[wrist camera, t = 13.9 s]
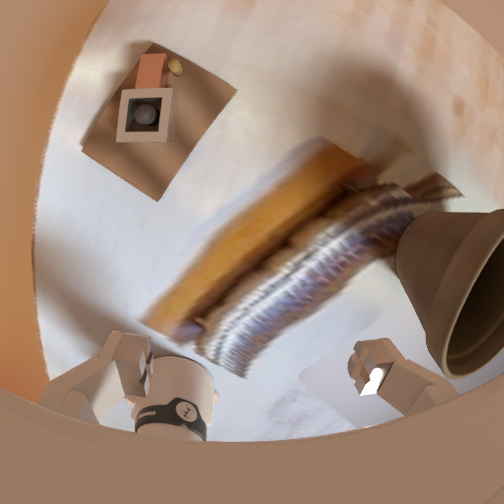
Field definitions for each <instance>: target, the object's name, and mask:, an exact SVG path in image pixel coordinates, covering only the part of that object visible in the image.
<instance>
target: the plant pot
mask: <svg viewBox="0 0 504 504" xmlns="http://www.w3.org/2000/svg"><path fill="white" fill-rule="evenodd" d="M395 265H396V271H397V274H398V277H399V279H400V282H401V284H402V286H403V288H404V290H405V292H406V294H407V295H408V297H409V299H410V301H411V303H412V305H413V307H414V309H415V312H416V314H417V316H418V318H419V320H420V322H421V324H422V326H423V328H424V330H425V333H426V344H427V348H428V351H429V353H430V354H431V356H432V357H433V359H434V360H435V362H436V363H437V365H438V366H439V367H440V369H441V370H442V372H443V374H444V375H445V376H446V377H447V378H450V379H462V378H465V377H468V376H470V375H472V374H474V373H476V372H477V371H479V370H481V369H482V368H483V367H485V366H486V365H487V364H488V363H489V362H491V361H492V360H493V359H494V358H495V357H496V356H497V355H498V354H499V353H500V352H501V351H502V350H503V348H504V209H499V210H495V211H493V212H491V213H468V212H438V213H427V214H423V215H421V216H419V217H418V218H416V219H415V220H413V221H412V222H411V223H410V224H409V225H408V227H407V228H406V229H405V231H404V232H403V234H402V236H401V238H400V241H399V243H398V246H397V251H396V257H395Z"/></svg>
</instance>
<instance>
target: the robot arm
mask: <svg viewBox="0 0 504 504" xmlns="http://www.w3.org/2000/svg"><path fill="white" fill-rule="evenodd" d="M151 346H152V342H151V337H150V336H146V335H139V334H133V333H127V332H120V331H114V330H113V331H112V332H111V333H110V335H109V336H108V338H107V340H106V342H105V344H104V346H103V348H102V350H101V352H100V354H99V356H98V357H95V356H94V357H93V358H91V359H89V360H87V361H86V362H84V363H82V364H80V365H78V366H77V367H75V368H73V369H71V370H69V371H68V372H66V373H64V374H62V375H60V376H59V377H57V378H55V379H53V380H51V381H50V382H49V383H48V385H47V387H46V389H45V390H44V392H43V394H42V396H41V398H40V400H39V402H38V404H36V403H33V402H31V401H29V400H26V399H24V398H22V397H20V396H18V395H15V394H13V393H11V392H9V391H7V390H5V389H3V388H1V387H0V504H504V373H503V374H501V375H499V376H497V377H495V378H494V379H492V380H490V381H488V382H487V383H485V384H483V385H481V386H479V387H477V388H475V389H473V390H471V391H468V392H466V393H464V394H462V395H460V394H459V393H458V392H457V391H456V389H455V388H454V387H453V386H452V384H451V383H450V382H449V380H448V379H446V378H444V377H442V376H440V375H438V374H436V373H434V372H432V371H430V370H428V369H426V368H424V367H422V366H420V365H418V364H416V363H414V362H412V361H411V360H409V359H408V360H406V359H405V358H404V357H403V355H402V354H401V353H400V352H399V350H398V349H397V348H396V346H395V345H394V344H393V343H392V341H391V340H390V339H388V338H381V339H374V340H364V341H357V342H356V344H355V346H354V348H353V349H354V351H355V353H354V354H352V355H351V356H350V358H349V361H348V372H349V375H350V377H351V378H353V379H354V380H356V381H355V384H354V385H355V387H356V389H357V390H358V392H359V394H360V395H366V394H372V393H377V394H378V395H379V396H380V397H381V398H383V399H384V400H385V401H386V402H388V403H389V404H391V405H392V406H393V407H394V408H396V409H397V410H398V411H400V412H401V413H402V414H403V415H405V417H401V418H398V419H395V420H391V421H388V422H384V423H380V424H377V425H373V426H368V427H364V428H360V429H355V430H350V431H345V432H340V433H334V434H328V435H322V436H315V437H307V438H299V439H289V440H277V441H258V442H217V441H206V439H207V431H206V430H207V427H209V426H211V424H212V416H213V406H214V404H215V403H217V402H218V401H219V395H218V393H217V392H216V391H215V389H214V382H213V379H212V376H211V375H210V373H209V372H208V371H207V370H206V369H205V368H204V367H202V366H201V365H199V364H197V363H195V362H193V361H191V360H188V359H185V358H181V357H174V356H165V357H158V358H154V357H153V353H152V352H151V351H150V349H151ZM125 395H126V396H125ZM124 396H125V401H126V402H127V403H128V404H129V405H130V406H131V407H133V408H132V412H131V418H132V419H133V420H134V421H135V432H130V431H125V430H120V429H115V428H111V427H107V426H103V425H100V424H99V422H98V420H99V419H100V418H101V417H102V416H103V415H104V414H106V413H107V412H108V411H109V410H110V409H111V408H112V407H113V406H114V405H116V404H117V403H118V402H119V401H120V400H121V399H122V398H123V397H124Z"/></svg>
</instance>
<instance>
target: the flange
mask: <svg viewBox="0 0 504 504" xmlns="http://www.w3.org/2000/svg"><path fill="white" fill-rule="evenodd" d="M168 61H169V59H168V57H167V55H166V54H165V53H158V54H142V55H141V59H140V64H139V69H138V74H137V80H136V86H135V89H128V90H122V94H121V101H120V108H119V116H118V125H117V136H116V142H120V143H173V138H174V128H175V120H176V111H177V103H178V96H179V94H178V93H177V92H176V91H175V89H174V88H167V85H168V78H169V72H170V69H169V67H168V65H167V63H168ZM142 103H162V105H161V113H160V121H159V130H158V132H136V124H137V121H136V119H135V116H134V114H135V111H136V109H137V108H138V107H139V104H142Z"/></svg>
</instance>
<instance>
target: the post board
mask: <svg viewBox="0 0 504 504" xmlns="http://www.w3.org/2000/svg"><path fill="white" fill-rule="evenodd" d="M158 53H165V54H166V55H167V57H168V59H169V61H168V63H167V65H168V67H169V69H170V72H169V78H168V85H167V88H174V89H175V91H176V92H177V93H178V94H179V96H178V103H177V111H176V120H175V128H174V138H173V143H120V142H116V136H117V125H118V116H119V108H120V101H121V94H122V90H128V89H135V86H136V80H137V74H138V69H139V64H140V60H139V61H138V63H137V64H136V65H135V67H134V68H133V69H132V71H131V72H130V73H129V75H128V76H127V77H126V79H125V80H124V81H123V83H122V84H121V86H120V87H119V89H118V90H117V91H116V93H115V94H114V96H113V97H112V99H111V100H110V102H109V104H108V105H107V107H106V108H105V110H104V112H103V113H102V115H101V116H100V118H99V120H98V121H97V123H96V125H95V127H94V128H93V130H92V132H91V134H90V136H89V137H88V139H87V141H86V143H85V145H84V147H83V149H82V152H83V153H85V154H86V155H87V156H89V157H90V158H92V159H93V160H95V161H96V162H98V163H99V164H101V165H102V166H104V167H105V168H107V169H108V170H110V171H111V172H113V173H114V174H116V175H117V176H119V177H120V178H122V179H123V180H125V181H126V182H128V183H129V184H131V185H132V186H134V187H135V188H137V189H138V190H140V191H141V192H143V193H144V194H146V195H147V196H149V197H150V198H152V199H153V200H155V201H156V202H158V201H159V200H160V199H161V197H162V195H163V194H164V192H165V191H166V189H167V188H168V186H169V184H170V183H171V181H172V180H173V178H174V177H175V175H176V174H177V172H178V171H179V169H180V168H181V166H182V165H183V163H184V162H185V160H186V159H187V157H188V156H189V154H190V153H191V152H192V150H193V149H194V147H195V146H196V144H197V143H198V142H199V140H200V139H201V138H202V136H203V135H204V133H205V132H206V131H207V129H208V128H209V127H210V125H211V124H212V123H213V121H214V120H215V119H216V117H217V116H218V115H219V114H220V112H221V111H222V110H223V109H224V107H225V106H226V105H227V103H228V102H229V101H230V100H231V99H232V97H233V96H234V95H235V94H236V92H237V90H236V89H235V88H233V87H232V86H230V85H228V84H227V83H225V82H224V81H222V80H220V79H219V78H217V77H216V76H214V75H212V74H211V73H209V72H207V71H206V70H204V69H202V68H200V67H199V66H197V65H195V64H193V63H192V62H190V61H188V60H186V59H184V58H182V57H181V56H179V55H177V54H175V53H173V52H171V51H169V50H167V49H165V48H163V47H161V46H159V45H157V44H155V43H153V44H152V46H151V47H150V48H149V49H148V50H147V52H146V53H145V54H158ZM161 105H162V103H142V104H139V107H138V108H137V109H136V111H135V114H134V116H135V119H136V121H137V124H136V132H158V130H159V121H160V113H161Z"/></svg>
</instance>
